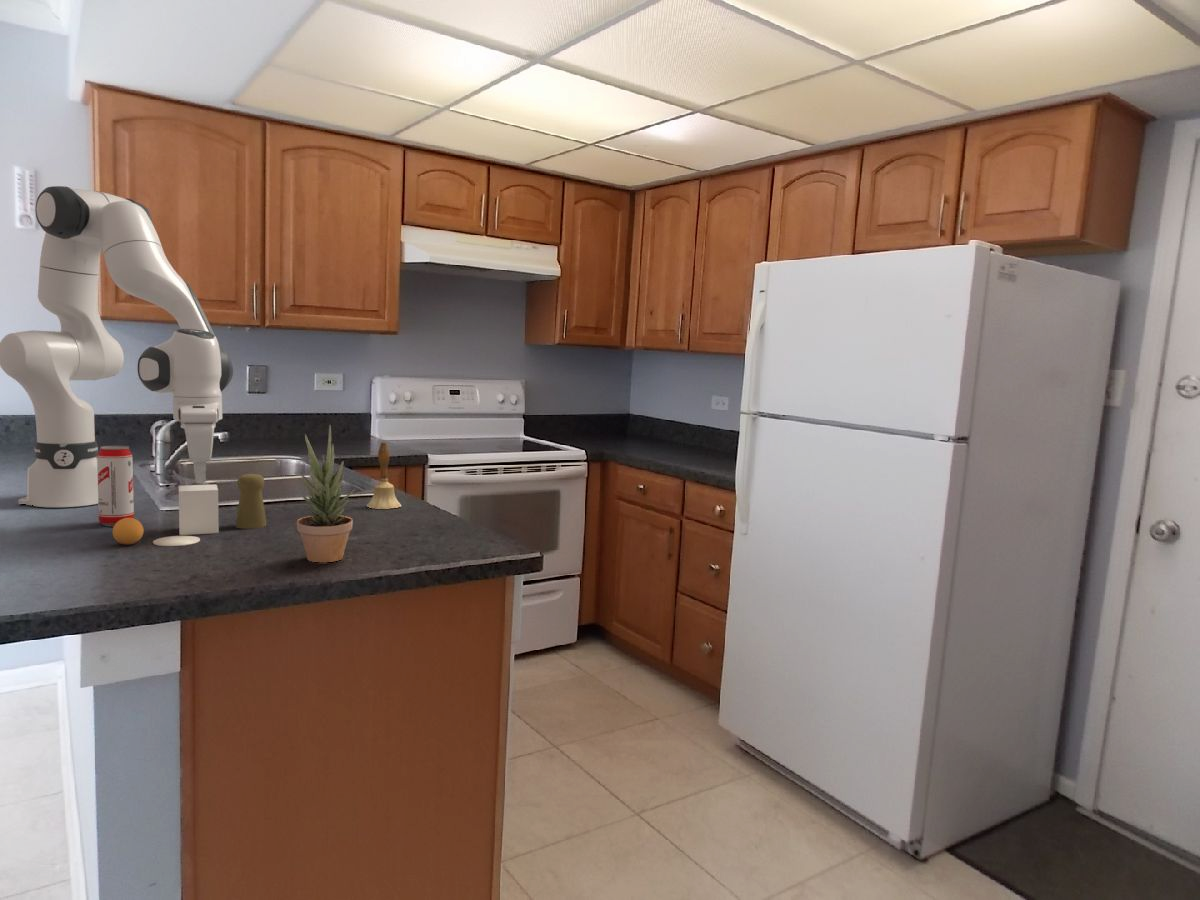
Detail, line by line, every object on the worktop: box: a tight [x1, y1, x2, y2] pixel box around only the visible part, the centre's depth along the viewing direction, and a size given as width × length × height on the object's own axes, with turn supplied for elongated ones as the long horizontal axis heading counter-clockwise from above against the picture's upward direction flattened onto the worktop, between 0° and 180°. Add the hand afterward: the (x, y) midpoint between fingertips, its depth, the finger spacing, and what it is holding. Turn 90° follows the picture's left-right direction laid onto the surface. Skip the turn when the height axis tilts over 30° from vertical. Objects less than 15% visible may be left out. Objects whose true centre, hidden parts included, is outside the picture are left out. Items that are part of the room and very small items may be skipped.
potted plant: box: [296, 425, 356, 563], centre depth 145 cm, size 10×10×25 cm
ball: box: [112, 517, 145, 546], centre depth 151 cm, size 5×5×5 cm
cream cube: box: [178, 484, 220, 536], centre depth 164 cm, size 7×7×9 cm
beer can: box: [96, 445, 135, 527], centre depth 166 cm, size 6×6×16 cm
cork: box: [235, 473, 267, 530], centre depth 170 cm, size 6×6×11 cm
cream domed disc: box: [152, 535, 201, 547], centre depth 155 cm, size 8×8×1 cm
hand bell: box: [366, 441, 402, 509], centre depth 197 cm, size 8×8×16 cm
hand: (199, 479), depth 163 cm, fingers open, 8 cm apart
